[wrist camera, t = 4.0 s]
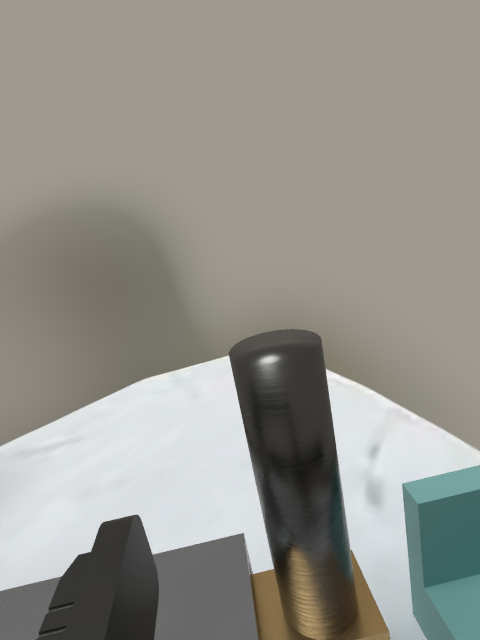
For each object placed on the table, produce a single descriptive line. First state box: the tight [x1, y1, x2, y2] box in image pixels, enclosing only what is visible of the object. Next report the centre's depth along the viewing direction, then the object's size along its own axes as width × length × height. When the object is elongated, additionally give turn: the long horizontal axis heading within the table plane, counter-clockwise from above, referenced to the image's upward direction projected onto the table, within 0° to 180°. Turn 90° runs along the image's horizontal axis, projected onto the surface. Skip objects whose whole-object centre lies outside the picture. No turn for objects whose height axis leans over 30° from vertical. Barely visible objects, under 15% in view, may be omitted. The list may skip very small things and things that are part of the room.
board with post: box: [229, 329, 390, 640], centre depth 12 cm, size 14×3×12 cm, turn 96°
